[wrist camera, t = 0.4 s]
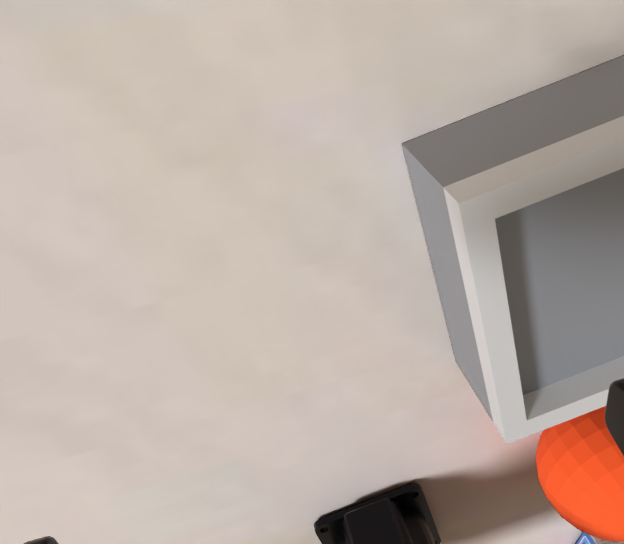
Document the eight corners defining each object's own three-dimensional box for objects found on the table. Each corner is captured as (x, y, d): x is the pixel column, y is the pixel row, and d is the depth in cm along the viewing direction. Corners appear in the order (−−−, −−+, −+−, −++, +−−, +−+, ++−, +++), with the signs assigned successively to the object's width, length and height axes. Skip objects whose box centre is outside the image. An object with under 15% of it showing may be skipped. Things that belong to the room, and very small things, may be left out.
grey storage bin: (685, 272, 28) (778, 338, 23) (455, 361, 28) (506, 444, 24) (704, 22, 21) (840, 52, 17) (401, 143, 21) (458, 203, 17)
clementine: (662, 367, 31) (773, 473, 26) (614, 453, 35) (703, 562, 29) (533, 375, 30) (621, 491, 24) (497, 465, 33) (566, 584, 27)
